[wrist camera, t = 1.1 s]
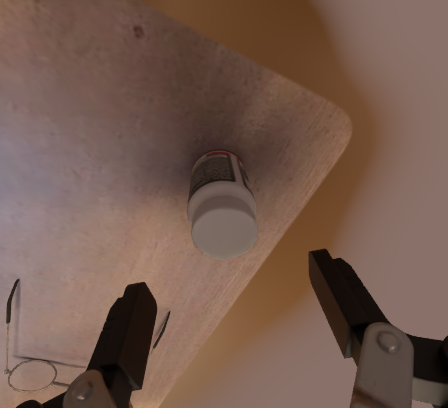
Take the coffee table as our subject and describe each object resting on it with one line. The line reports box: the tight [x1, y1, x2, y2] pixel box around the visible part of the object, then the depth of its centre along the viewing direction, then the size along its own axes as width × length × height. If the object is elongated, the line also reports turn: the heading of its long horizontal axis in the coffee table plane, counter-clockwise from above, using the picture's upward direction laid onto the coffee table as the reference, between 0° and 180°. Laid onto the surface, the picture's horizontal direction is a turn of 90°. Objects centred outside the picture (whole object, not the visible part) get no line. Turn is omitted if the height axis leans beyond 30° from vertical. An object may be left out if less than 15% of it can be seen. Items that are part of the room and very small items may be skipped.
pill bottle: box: [187, 150, 258, 259], centre depth 18 cm, size 5×5×8 cm
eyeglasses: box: [4, 279, 170, 393], centre depth 32 cm, size 18×19×4 cm
